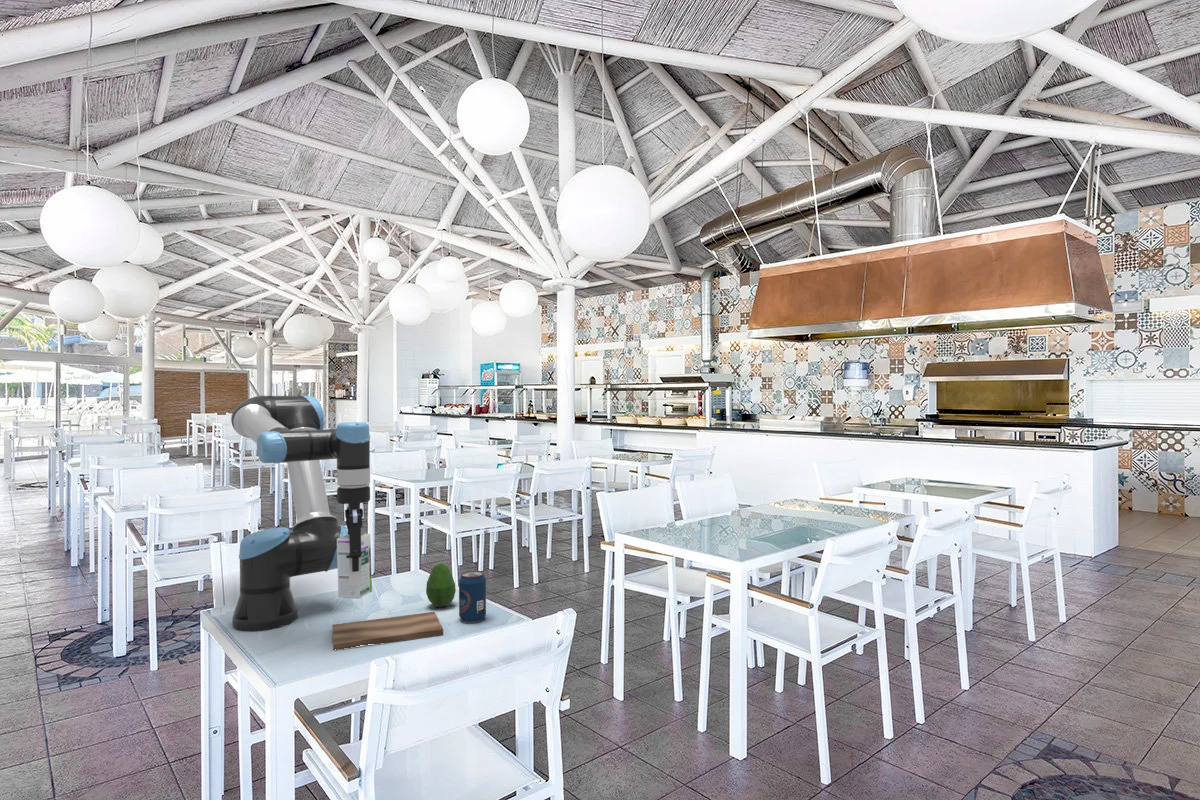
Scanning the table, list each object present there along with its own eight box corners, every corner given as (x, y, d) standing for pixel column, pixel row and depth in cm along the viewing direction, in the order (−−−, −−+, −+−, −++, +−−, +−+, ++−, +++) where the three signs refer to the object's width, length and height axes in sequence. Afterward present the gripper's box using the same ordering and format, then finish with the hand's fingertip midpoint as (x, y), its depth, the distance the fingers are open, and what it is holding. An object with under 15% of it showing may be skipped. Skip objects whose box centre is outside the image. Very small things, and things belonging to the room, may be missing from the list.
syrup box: (359, 599, 158) (358, 538, 158) (337, 597, 159) (336, 537, 159) (372, 592, 163) (371, 533, 163) (350, 590, 164) (349, 532, 164)
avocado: (443, 600, 190) (443, 558, 190) (461, 605, 185) (460, 562, 185) (420, 607, 184) (419, 563, 184) (437, 613, 179) (437, 568, 179)
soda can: (453, 619, 174) (453, 573, 174) (476, 613, 179) (475, 568, 179) (469, 625, 169) (468, 578, 169) (491, 619, 174) (491, 573, 174)
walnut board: (332, 630, 166) (332, 624, 166) (434, 617, 175) (434, 611, 175) (333, 650, 153) (333, 644, 153) (443, 635, 162) (443, 628, 162)
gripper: (336, 481, 169) (337, 571, 169) (337, 492, 150) (338, 593, 150) (367, 480, 172) (368, 568, 172) (372, 490, 153) (373, 589, 153)
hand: (354, 579), depth 161 cm, fingers closed on syrup box, 7 cm apart
